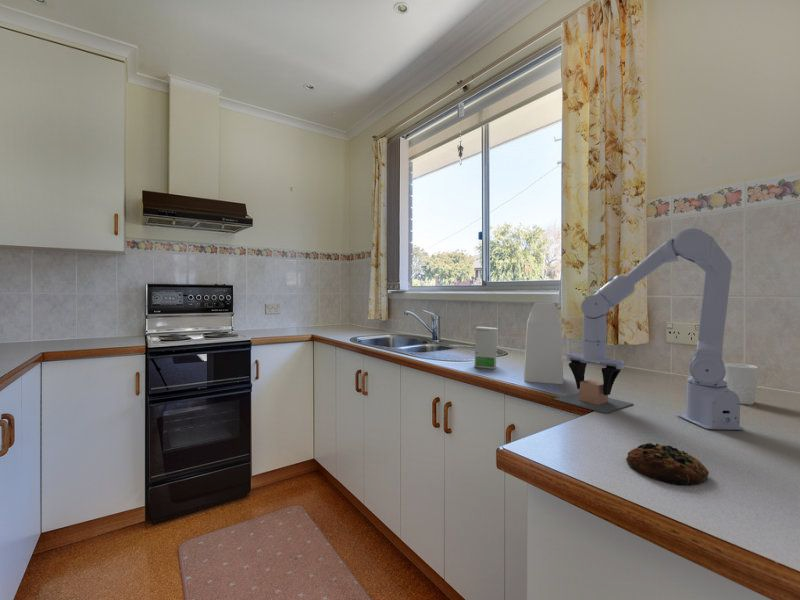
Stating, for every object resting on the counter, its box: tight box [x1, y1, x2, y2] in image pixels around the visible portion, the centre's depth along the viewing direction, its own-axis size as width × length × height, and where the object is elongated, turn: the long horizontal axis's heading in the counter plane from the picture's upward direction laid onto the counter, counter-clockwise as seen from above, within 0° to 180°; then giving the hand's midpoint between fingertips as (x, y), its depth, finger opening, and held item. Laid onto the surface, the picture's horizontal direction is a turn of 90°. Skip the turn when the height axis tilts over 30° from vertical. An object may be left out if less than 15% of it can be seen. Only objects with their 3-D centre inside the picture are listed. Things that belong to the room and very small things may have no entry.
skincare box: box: [473, 326, 499, 370], centre depth 149 cm, size 8×7×16 cm
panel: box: [553, 392, 634, 415], centre depth 102 cm, size 14×14×1 cm
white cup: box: [723, 362, 759, 405], centre depth 105 cm, size 8×8×10 cm
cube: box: [579, 379, 609, 405], centre depth 102 cm, size 5×5×5 cm
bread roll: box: [625, 442, 710, 486], centre depth 63 cm, size 11×11×5 cm
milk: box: [523, 302, 564, 385], centre depth 129 cm, size 12×12×26 cm
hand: (593, 391), depth 102 cm, fingers open, 7 cm apart
